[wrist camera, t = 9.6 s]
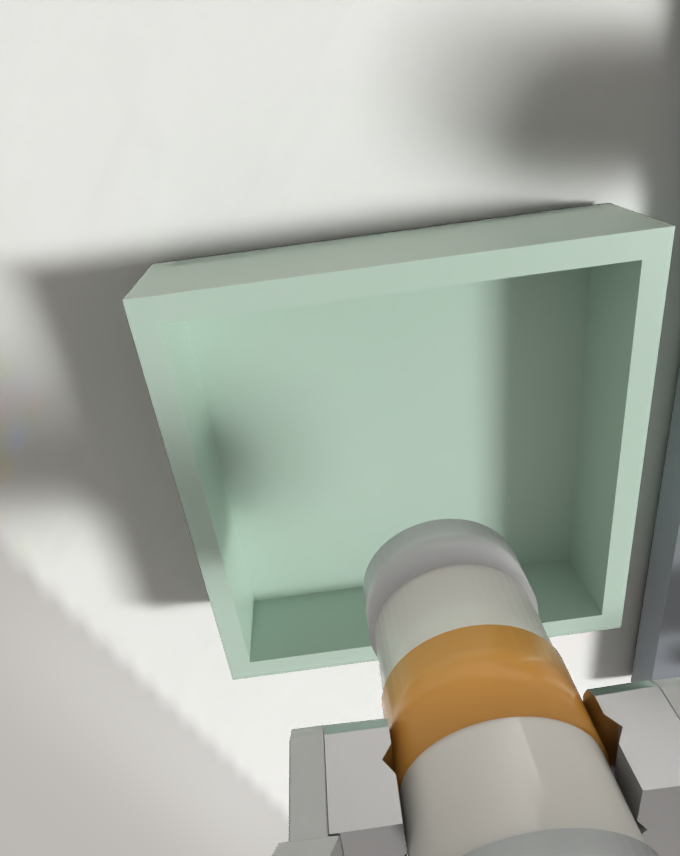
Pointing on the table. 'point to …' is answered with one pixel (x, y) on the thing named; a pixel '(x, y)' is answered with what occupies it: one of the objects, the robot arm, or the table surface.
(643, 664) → the fuse holder
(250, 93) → the table surface
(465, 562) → the marked fuse
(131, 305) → the parts tray
